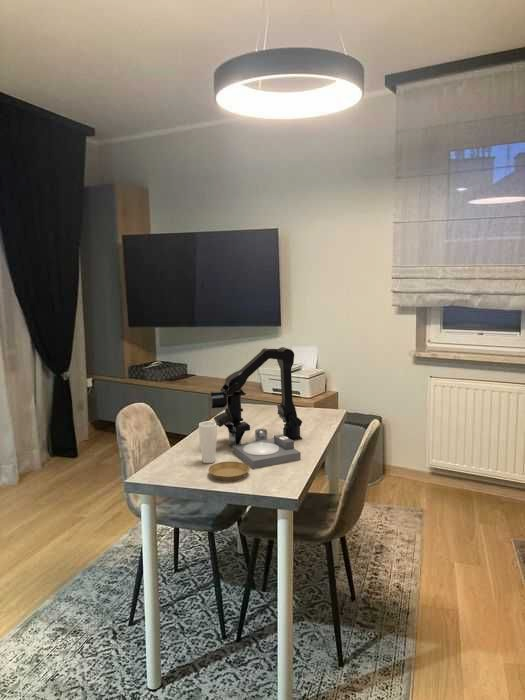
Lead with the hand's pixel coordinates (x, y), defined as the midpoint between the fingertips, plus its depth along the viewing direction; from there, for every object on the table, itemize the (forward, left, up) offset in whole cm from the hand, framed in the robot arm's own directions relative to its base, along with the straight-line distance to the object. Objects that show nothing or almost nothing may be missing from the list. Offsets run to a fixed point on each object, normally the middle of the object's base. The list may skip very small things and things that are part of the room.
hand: (235, 442), depth 220 cm
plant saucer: (+14, +28, -2) cm, 31 cm away
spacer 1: (0, 0, -1) cm, 1 cm away
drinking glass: (+16, +12, -2) cm, 20 cm away
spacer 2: (-12, 0, -2) cm, 12 cm away
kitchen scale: (-6, +17, -2) cm, 18 cm away
